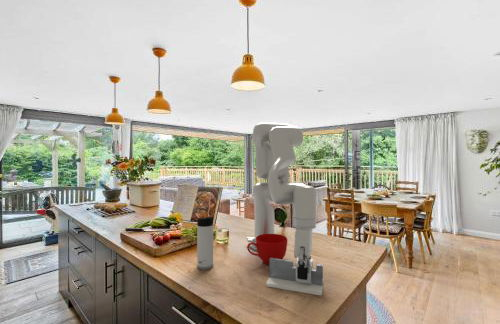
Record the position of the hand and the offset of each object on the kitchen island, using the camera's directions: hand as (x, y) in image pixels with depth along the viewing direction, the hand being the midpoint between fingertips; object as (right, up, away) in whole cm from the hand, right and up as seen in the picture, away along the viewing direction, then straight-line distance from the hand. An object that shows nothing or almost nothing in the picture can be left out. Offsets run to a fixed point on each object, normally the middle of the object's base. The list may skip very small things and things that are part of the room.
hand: (304, 272), depth 86 cm
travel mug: (-36, -4, +15) cm, 39 cm away
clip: (0, -2, 0) cm, 2 cm away
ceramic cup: (-11, -4, +19) cm, 22 cm away
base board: (-3, -4, +1) cm, 5 cm away
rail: (-3, -4, +1) cm, 5 cm away
